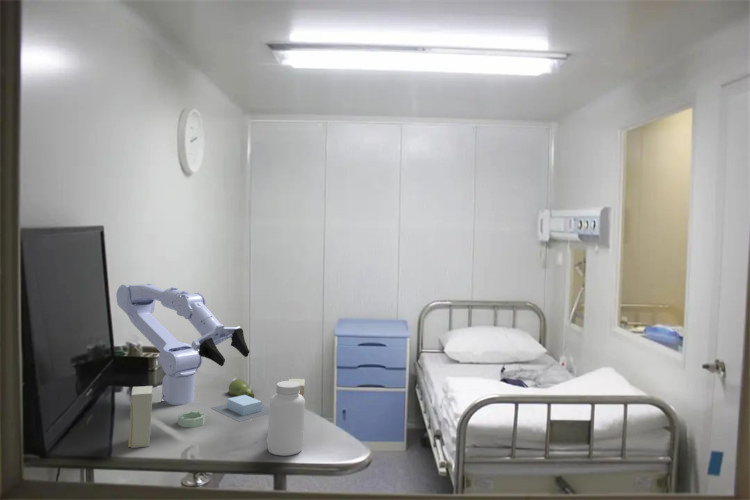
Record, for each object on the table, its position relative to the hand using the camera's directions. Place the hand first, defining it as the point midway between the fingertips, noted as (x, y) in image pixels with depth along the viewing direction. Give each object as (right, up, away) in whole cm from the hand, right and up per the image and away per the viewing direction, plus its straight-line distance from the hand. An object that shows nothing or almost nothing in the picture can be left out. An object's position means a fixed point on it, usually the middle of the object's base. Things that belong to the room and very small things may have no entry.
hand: (235, 358), depth 127 cm
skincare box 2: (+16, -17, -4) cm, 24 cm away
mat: (+1, -16, +6) cm, 17 cm away
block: (+1, -15, +6) cm, 16 cm away
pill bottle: (+16, -17, -16) cm, 29 cm away
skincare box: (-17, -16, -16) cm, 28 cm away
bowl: (-9, -16, -5) cm, 19 cm away
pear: (-4, -17, +19) cm, 25 cm away
